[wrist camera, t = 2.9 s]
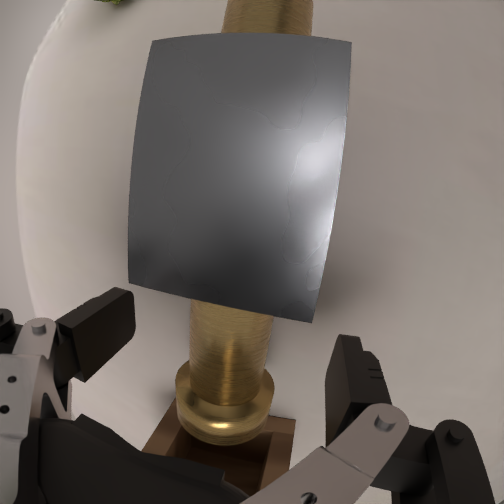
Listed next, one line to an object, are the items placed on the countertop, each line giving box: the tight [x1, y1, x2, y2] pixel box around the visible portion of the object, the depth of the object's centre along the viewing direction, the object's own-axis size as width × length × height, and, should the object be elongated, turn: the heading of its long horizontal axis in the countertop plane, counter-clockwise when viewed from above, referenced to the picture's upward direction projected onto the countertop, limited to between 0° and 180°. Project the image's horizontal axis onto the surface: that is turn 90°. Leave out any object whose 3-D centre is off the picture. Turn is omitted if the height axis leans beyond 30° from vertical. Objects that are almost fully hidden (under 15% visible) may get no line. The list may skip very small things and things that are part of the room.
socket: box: [142, 398, 296, 497], centre depth 14 cm, size 5×8×7 cm, turn 83°
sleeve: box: [128, 33, 352, 323], centre depth 9 cm, size 7×5×7 cm
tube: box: [175, 0, 313, 446], centre depth 9 cm, size 17×4×4 cm, turn 173°
